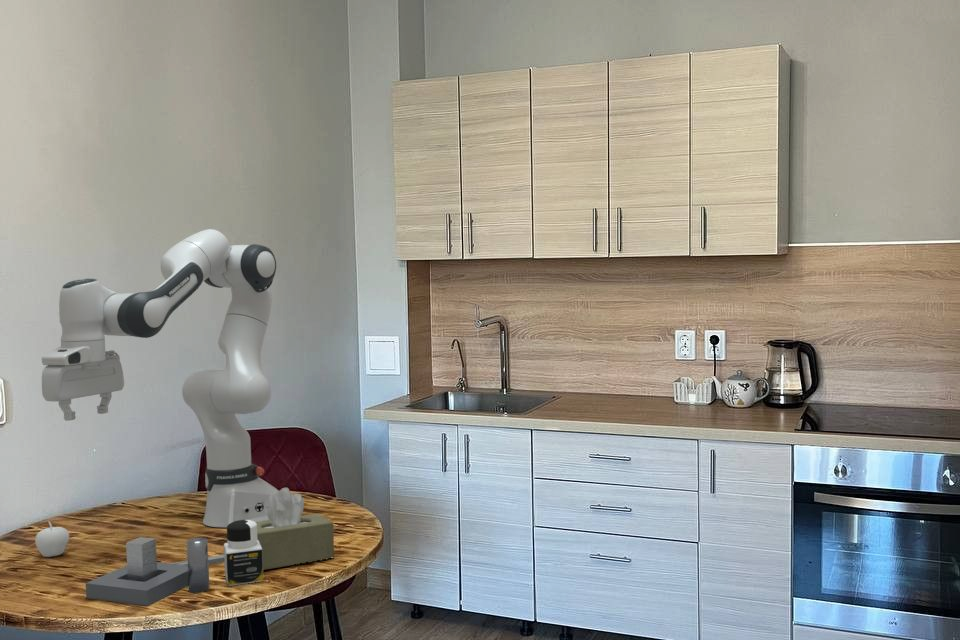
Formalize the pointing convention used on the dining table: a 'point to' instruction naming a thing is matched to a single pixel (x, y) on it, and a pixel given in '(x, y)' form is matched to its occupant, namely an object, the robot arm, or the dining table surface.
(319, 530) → the tissue box
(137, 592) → the socket block
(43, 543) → the plain white apple
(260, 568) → the medicine bottle
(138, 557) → the square bit
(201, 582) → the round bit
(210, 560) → the adjustable wrench
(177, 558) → the dining table surface
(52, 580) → the dining table surface
